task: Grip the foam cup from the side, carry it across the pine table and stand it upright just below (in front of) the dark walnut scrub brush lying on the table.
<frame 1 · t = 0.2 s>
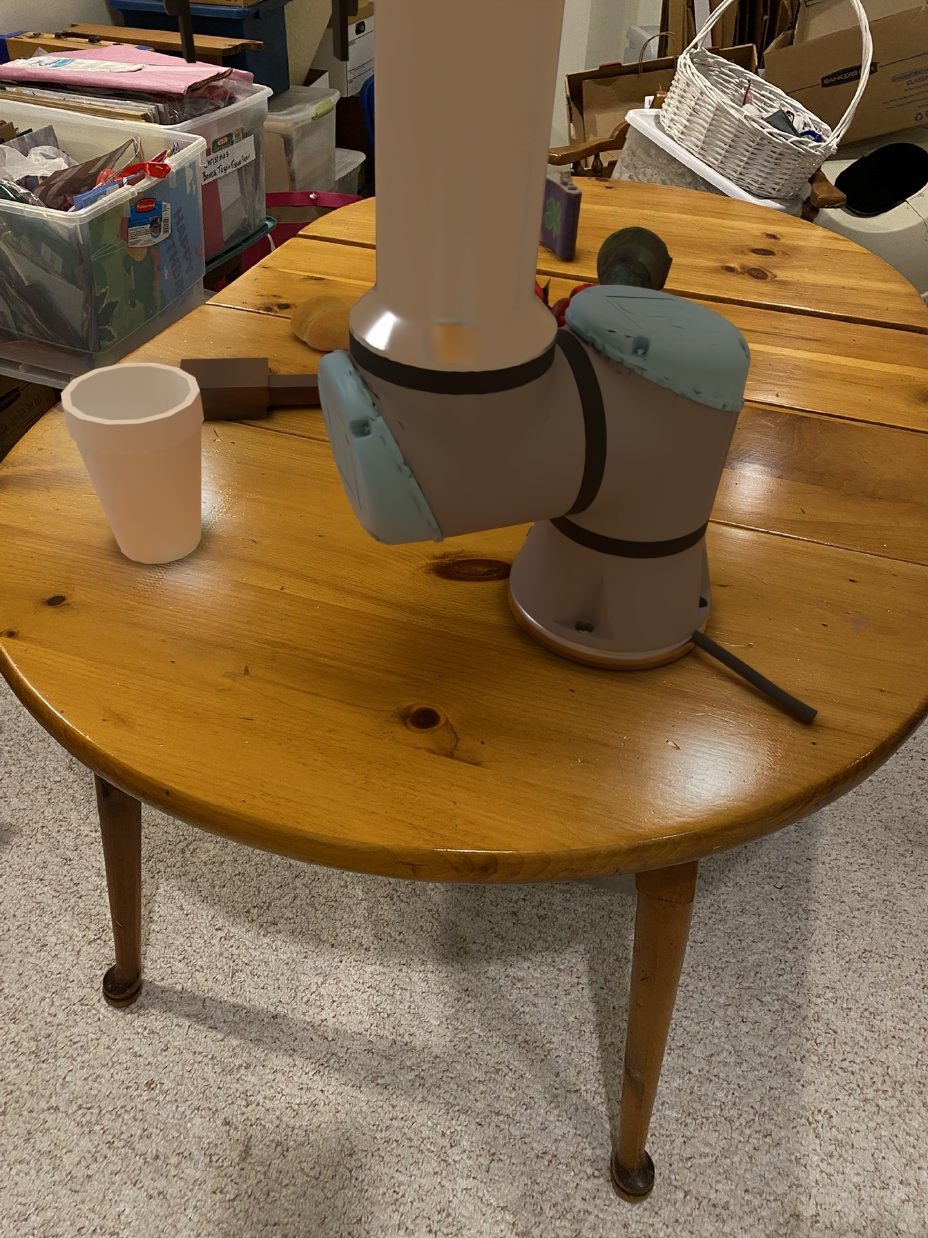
hand: (267, 59, 83), 28 cm above the table, tool pointing down, fingers open, 13 cm apart
foam cup: (161, 542, 74), on the table
bread roll: (330, 338, 105), on the table
flask: (556, 251, 130), on the table
carnation: (585, 353, 105), on the table
brush: (269, 404, 92), on the table
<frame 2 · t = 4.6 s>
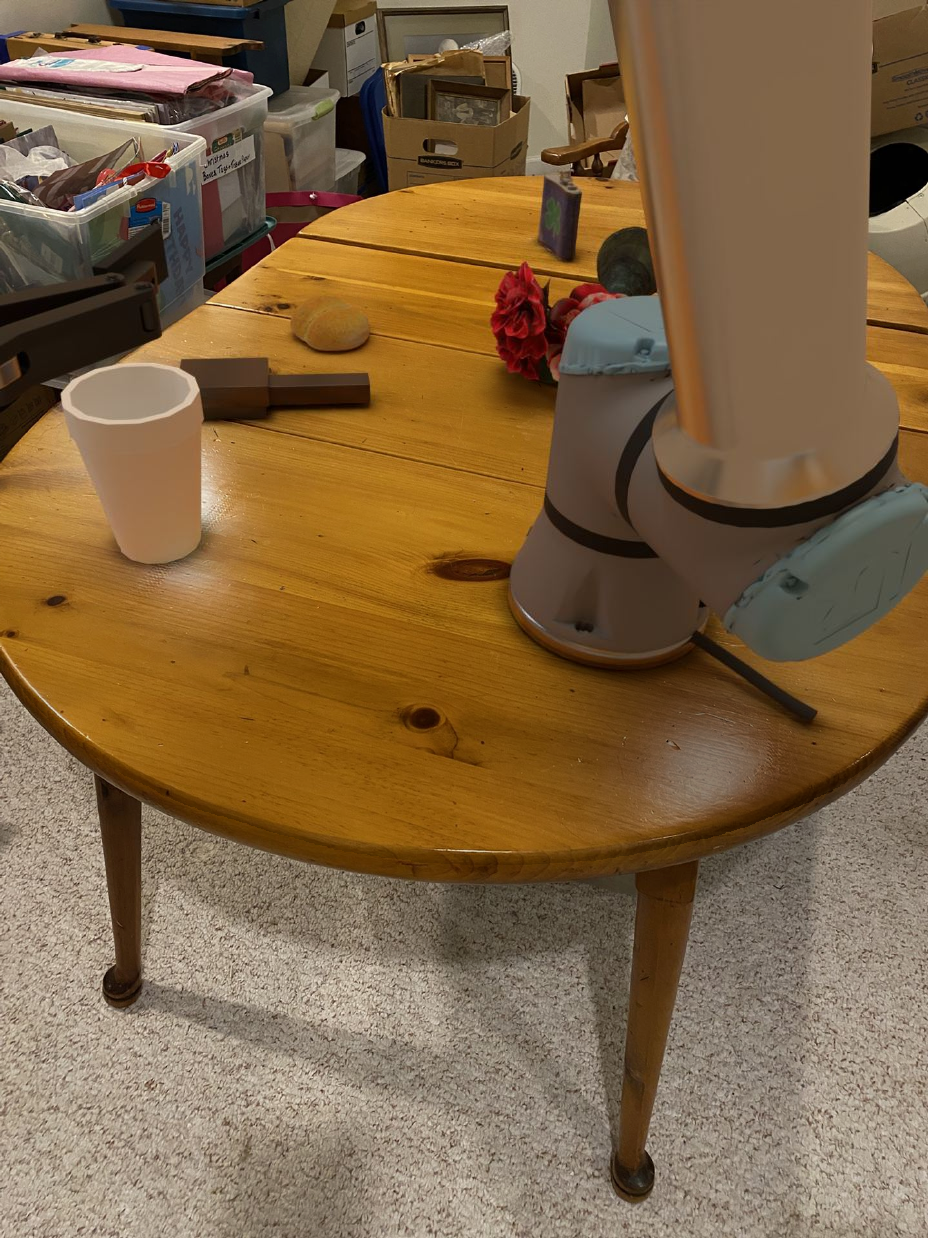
hand: (41, 236, 51), 26 cm above the table, tool horizontal, fingers open, 13 cm apart
nothing on the table moved.
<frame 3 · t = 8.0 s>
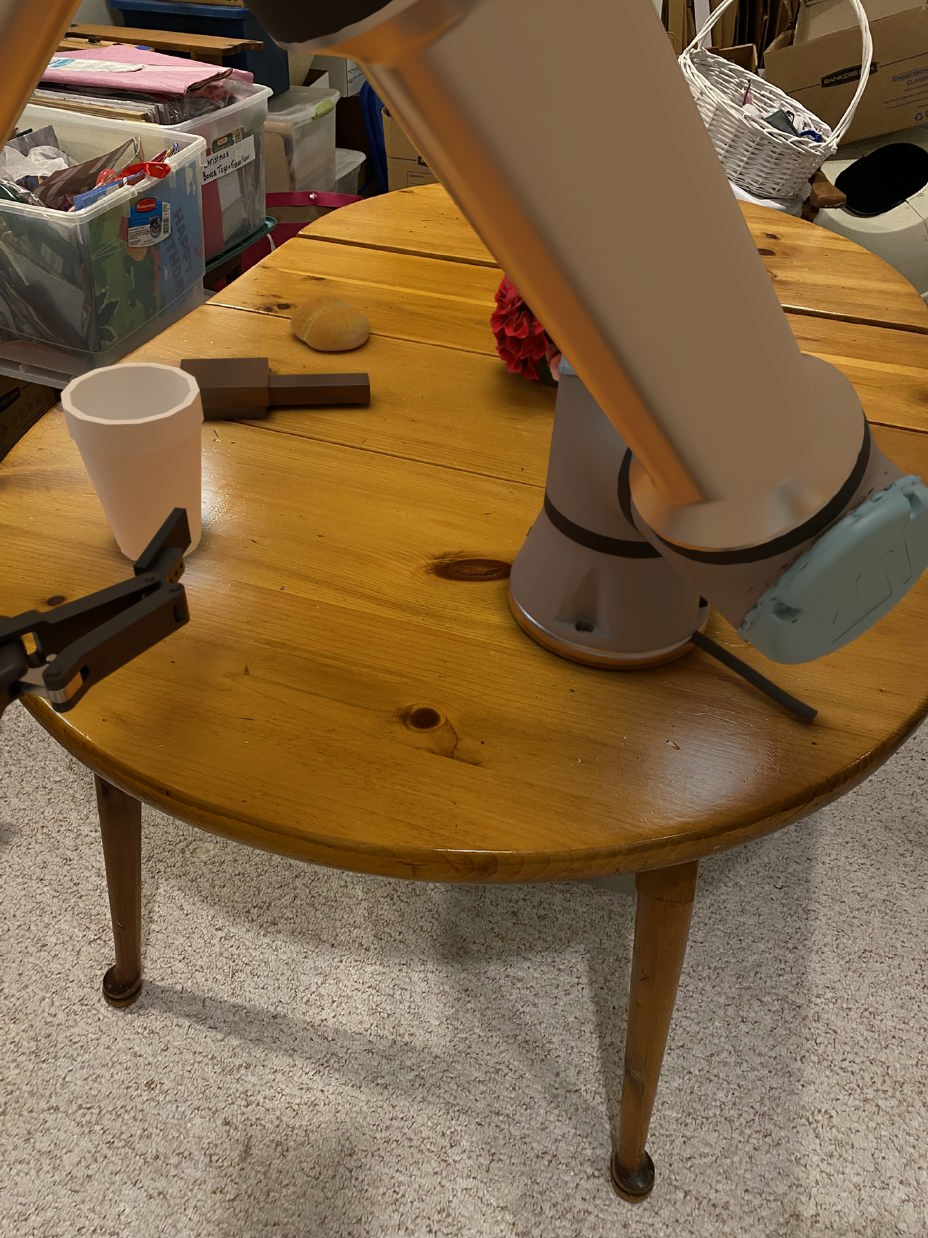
hand: (85, 510, 62), 9 cm above the table, tool horizontal, fingers open, 13 cm apart
nothing on the table moved.
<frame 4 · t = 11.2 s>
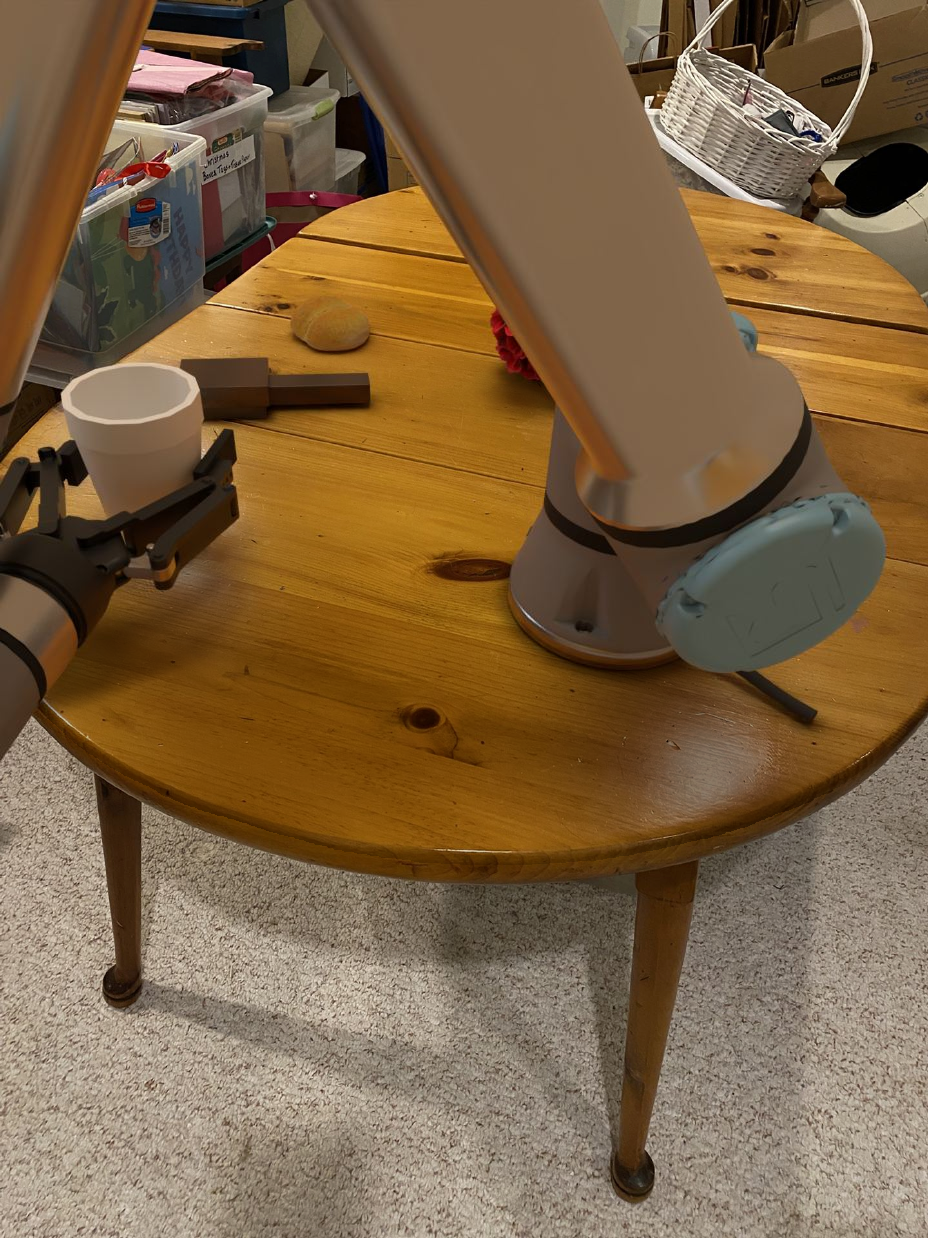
hand: (168, 436, 73), 7 cm above the table, tool horizontal, fingers closed on foam cup, 9 cm apart
foam cup: (161, 542, 74), on the table, touching gripper
everything else where it was.
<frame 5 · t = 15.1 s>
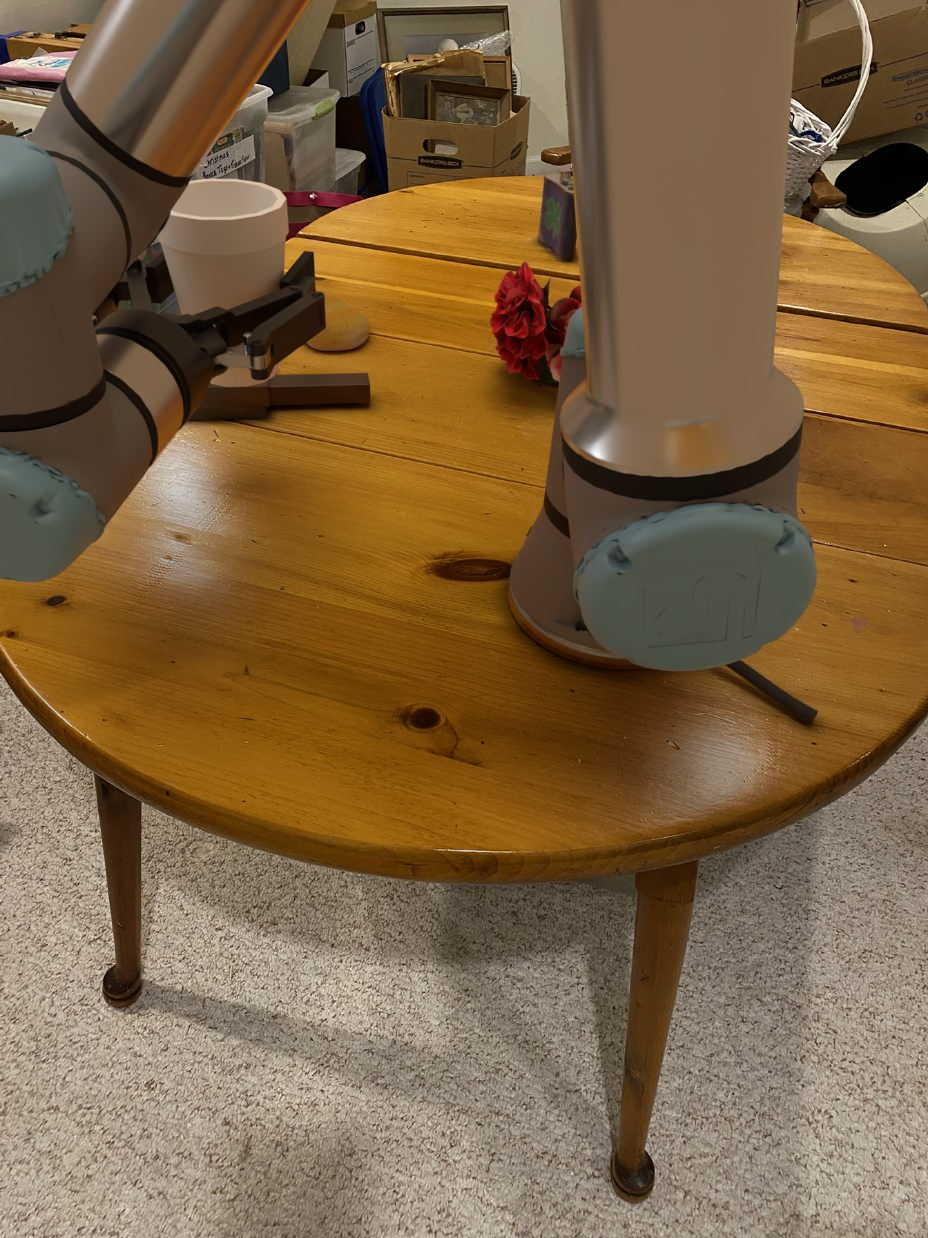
hand: (247, 261, 73), 18 cm above the table, tool horizontal, fingers closed on foam cup, 9 cm apart
foam cup: (238, 371, 74), point 11 cm above the table, touching gripper
everything else where it was.
when the fingers open (7 cm above the table, at t = 18.9 s): foam cup stays where it is, on the table.
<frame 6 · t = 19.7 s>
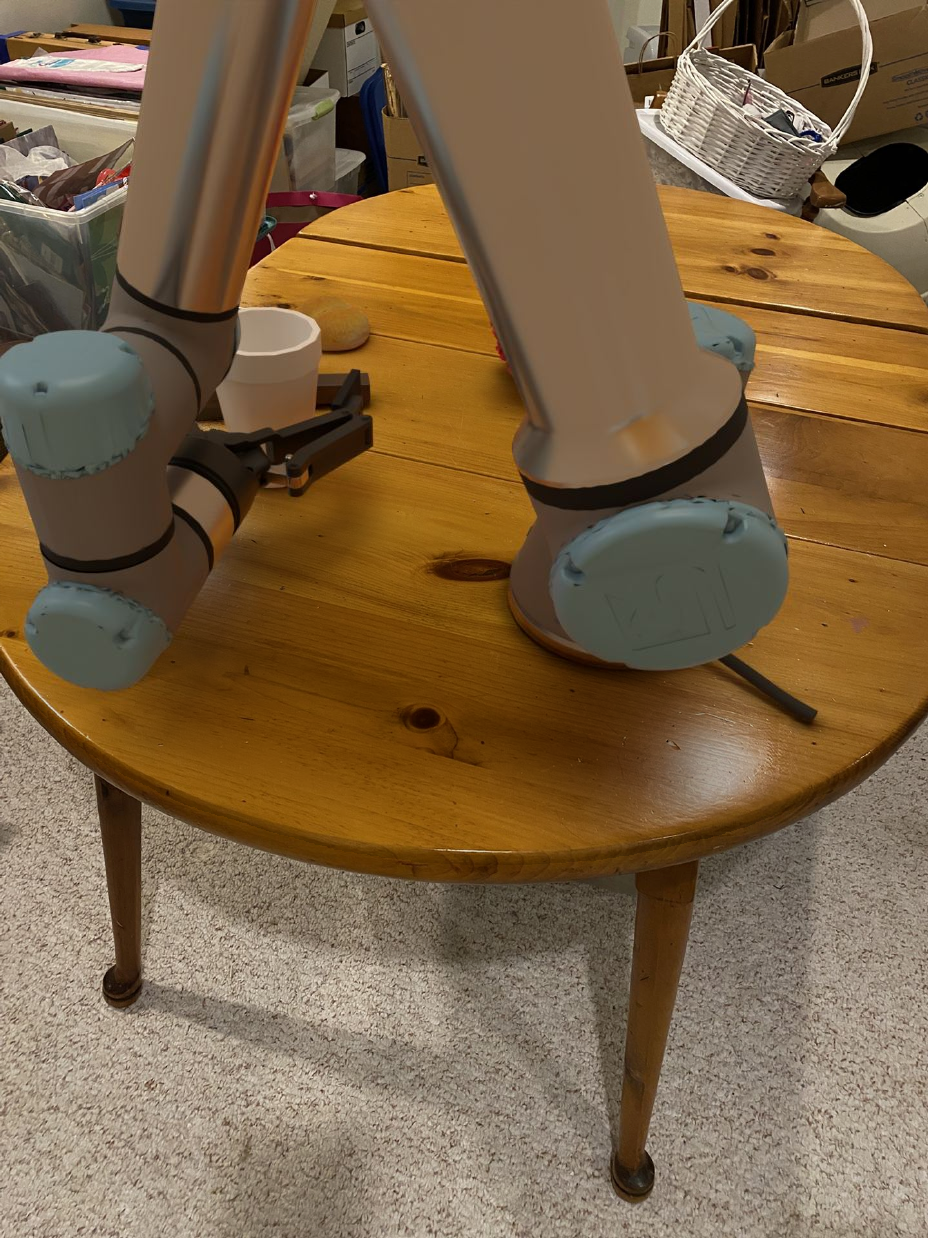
hand: (280, 374, 80), 8 cm above the table, tool horizontal, fingers open, 13 cm apart
foam cup: (274, 470, 83), on the table
everything else where it was.
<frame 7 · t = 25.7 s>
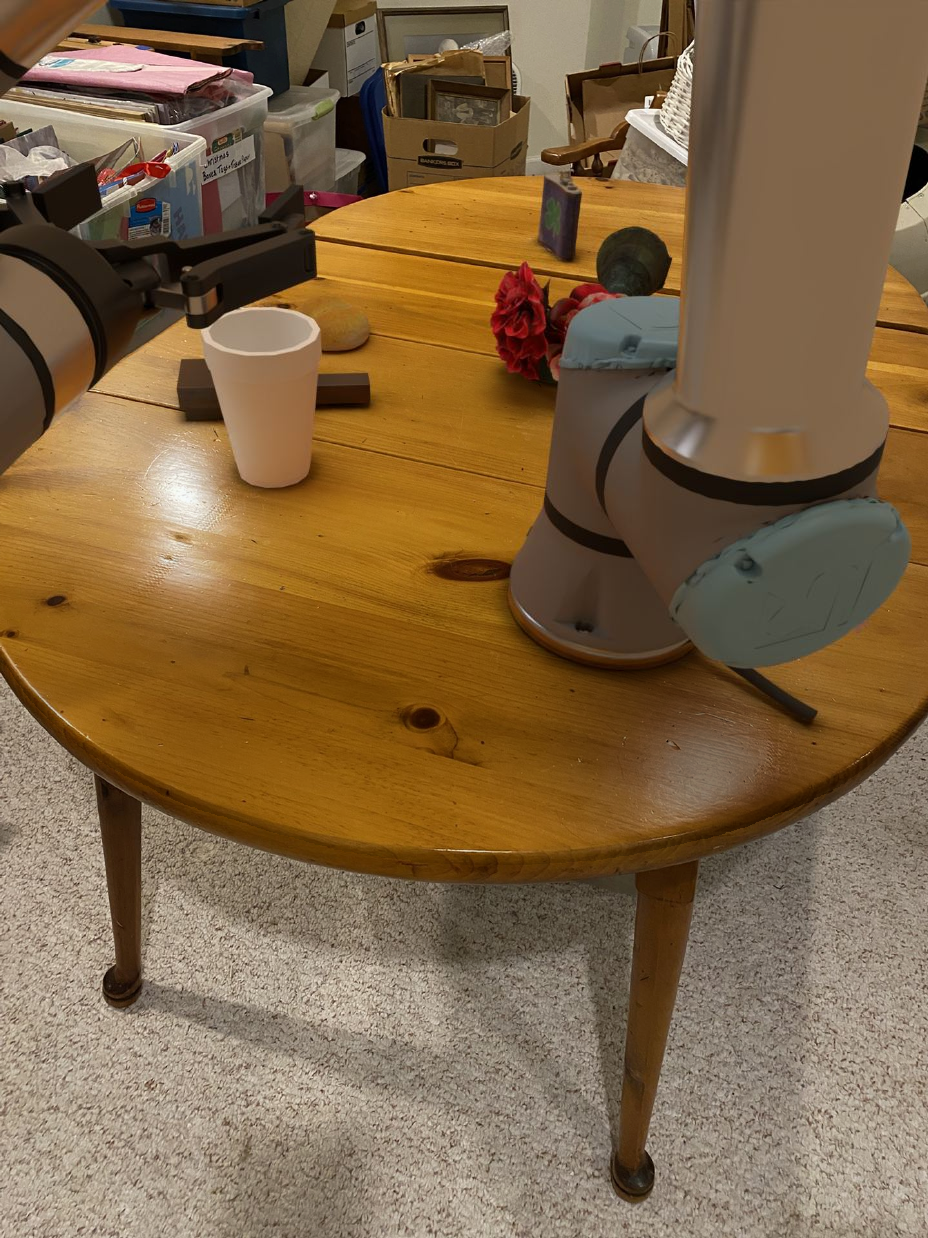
hand: (195, 195, 59), 26 cm above the table, tool horizontal, fingers open, 13 cm apart
nothing on the table moved.
at the end: foam cup inside the target area on the table beside the brush (0.1 cm from its centre), on the table; foam cup tilted 0° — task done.
